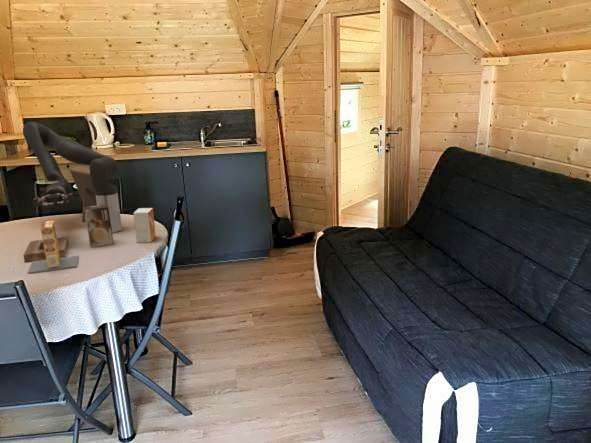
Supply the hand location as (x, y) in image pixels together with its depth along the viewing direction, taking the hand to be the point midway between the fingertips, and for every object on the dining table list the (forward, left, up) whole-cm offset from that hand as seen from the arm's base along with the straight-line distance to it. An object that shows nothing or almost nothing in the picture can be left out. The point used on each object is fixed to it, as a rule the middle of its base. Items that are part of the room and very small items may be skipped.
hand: (52, 202), depth 186 cm
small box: (-33, -2, -21) cm, 39 cm away
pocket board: (+5, -1, -20) cm, 21 cm away
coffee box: (-15, -4, -21) cm, 26 cm away
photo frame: (-10, -52, -21) cm, 57 cm away
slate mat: (+1, +16, -20) cm, 26 cm away
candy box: (+1, +16, -20) cm, 26 cm away
